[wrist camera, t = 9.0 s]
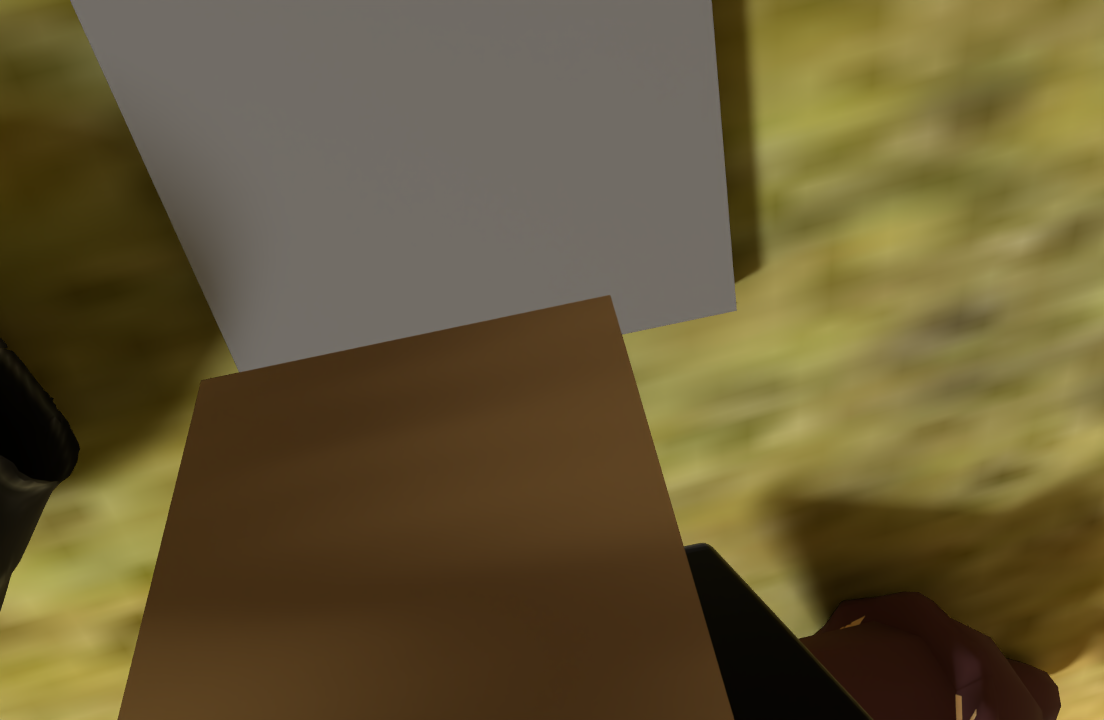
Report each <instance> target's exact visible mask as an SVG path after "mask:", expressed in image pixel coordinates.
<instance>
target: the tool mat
mask: <svg viewBox="0 0 1104 720" xmlns="http://www.w3.org/2000/svg"><path fill="white" fill-rule="evenodd" d="M70 1H71V3H72V5H73V7H74V9H75V12H76V14H77V16H78V18H79V21H80V23H81V25H82V27H83V29H84V32H85V34H86V36H87V38H88V40H89V43H90V45H91V47H92V49H93V51H94V54H95V56H96V58H97V60H98V62H99V65H100V67H101V69H102V71H103V73H104V76H105V78H106V80H107V82H108V84H109V87H110V89H111V91H112V93H113V95H114V98H115V100H116V102H117V104H118V106H119V109H120V111H121V113H122V115H123V117H124V120H125V122H126V124H127V126H128V128H129V131H130V133H131V135H132V137H133V139H134V142H135V144H136V146H137V148H138V150H139V153H140V155H141V157H142V159H143V161H144V164H145V166H146V168H147V170H148V172H149V175H150V177H151V179H152V181H153V183H154V186H155V188H156V190H157V192H158V194H159V197H160V199H161V201H162V203H163V205H164V208H165V210H166V212H167V214H168V216H169V219H170V221H171V223H172V225H173V227H174V230H175V232H176V234H177V236H178V238H179V241H180V243H181V245H182V247H183V249H184V252H185V254H186V256H187V258H188V260H189V263H190V265H191V267H192V269H193V271H194V274H195V276H196V278H197V280H198V282H199V285H200V287H201V289H202V291H203V293H204V296H205V298H206V300H207V302H208V304H209V307H210V309H211V311H212V313H213V315H214V318H215V320H216V322H217V324H218V327H219V329H220V331H221V333H222V335H223V338H224V340H225V342H226V344H227V346H228V349H229V351H230V353H231V355H232V357H233V360H234V362H235V364H236V366H237V368H238V371H239V372H243V371H248V370H253V369H258V368H263V367H267V366H272V365H277V364H282V363H286V362H291V361H296V360H301V359H306V358H310V357H315V356H320V355H325V354H329V353H334V352H339V351H344V350H349V349H353V348H358V347H363V346H368V345H372V344H377V343H382V342H387V341H392V340H396V339H401V338H406V337H411V336H415V335H420V334H425V333H430V332H435V331H439V330H444V329H449V328H454V327H458V326H463V325H468V324H473V323H478V322H482V321H487V320H492V319H497V318H501V317H506V316H511V315H516V314H521V313H525V312H530V311H535V310H540V309H544V308H549V307H554V306H559V305H564V304H568V303H573V302H578V301H583V300H587V299H592V298H597V297H602V296H607V295H610V296H611V299H612V302H613V306H614V309H615V313H616V316H617V319H618V323H619V326H620V330H621V333H622V334H627V333H632V332H636V331H641V330H646V329H651V328H655V327H660V326H665V325H670V324H675V323H679V322H684V321H689V320H694V319H698V318H703V317H708V316H713V315H718V314H722V313H727V312H732V311H737V309H736V297H735V284H734V272H733V260H732V247H731V235H730V222H729V210H728V198H727V185H726V173H725V160H724V148H723V136H722V123H721V111H720V98H719V86H718V74H717V61H716V49H715V36H714V24H713V12H712V0H70Z"/></svg>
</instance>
